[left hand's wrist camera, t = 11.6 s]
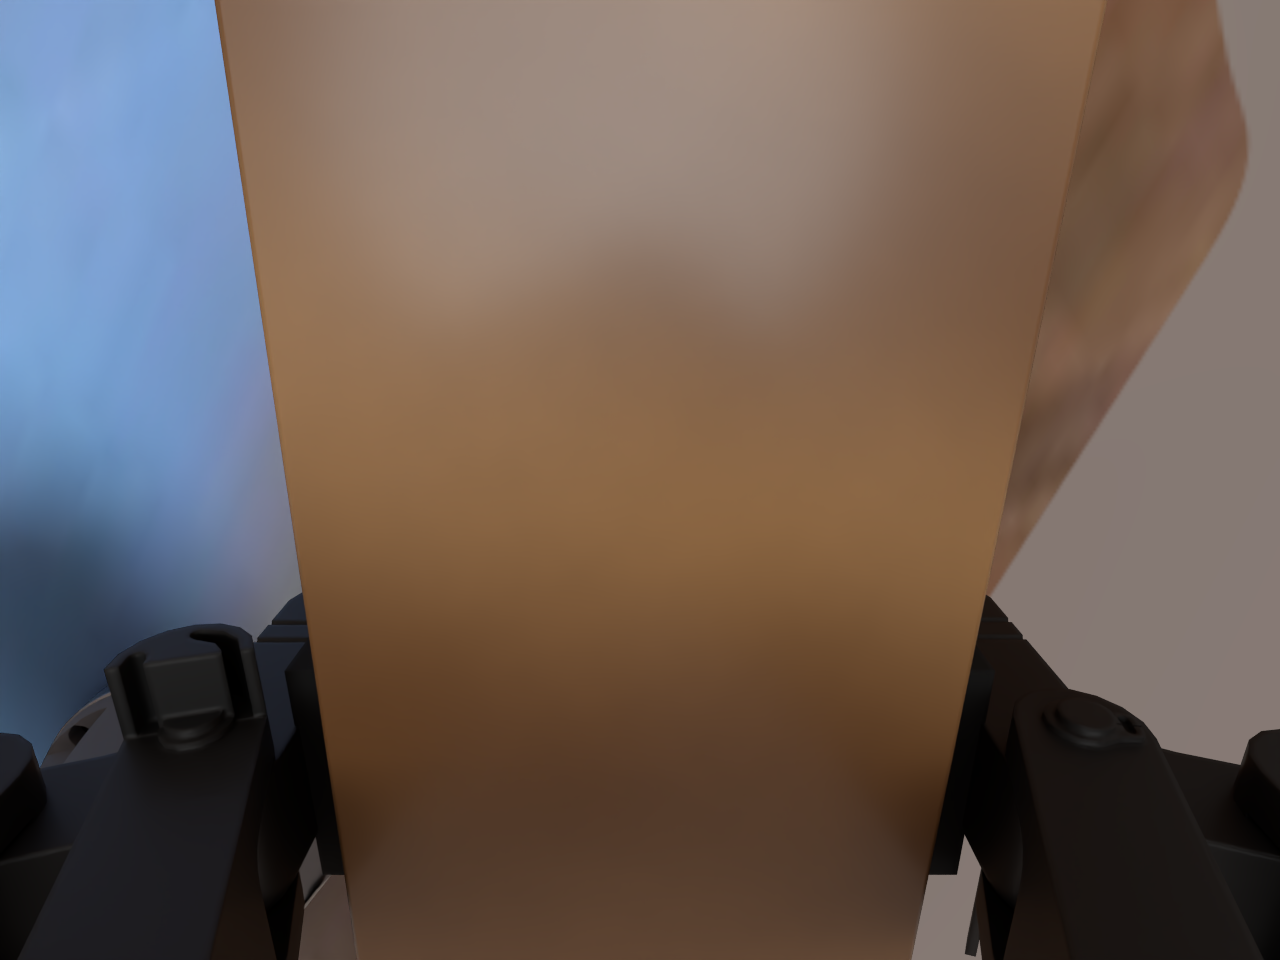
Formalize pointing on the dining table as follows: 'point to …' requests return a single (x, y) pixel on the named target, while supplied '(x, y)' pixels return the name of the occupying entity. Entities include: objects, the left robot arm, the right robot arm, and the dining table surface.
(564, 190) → the beam
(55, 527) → the dining table surface
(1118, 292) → the dining table surface
